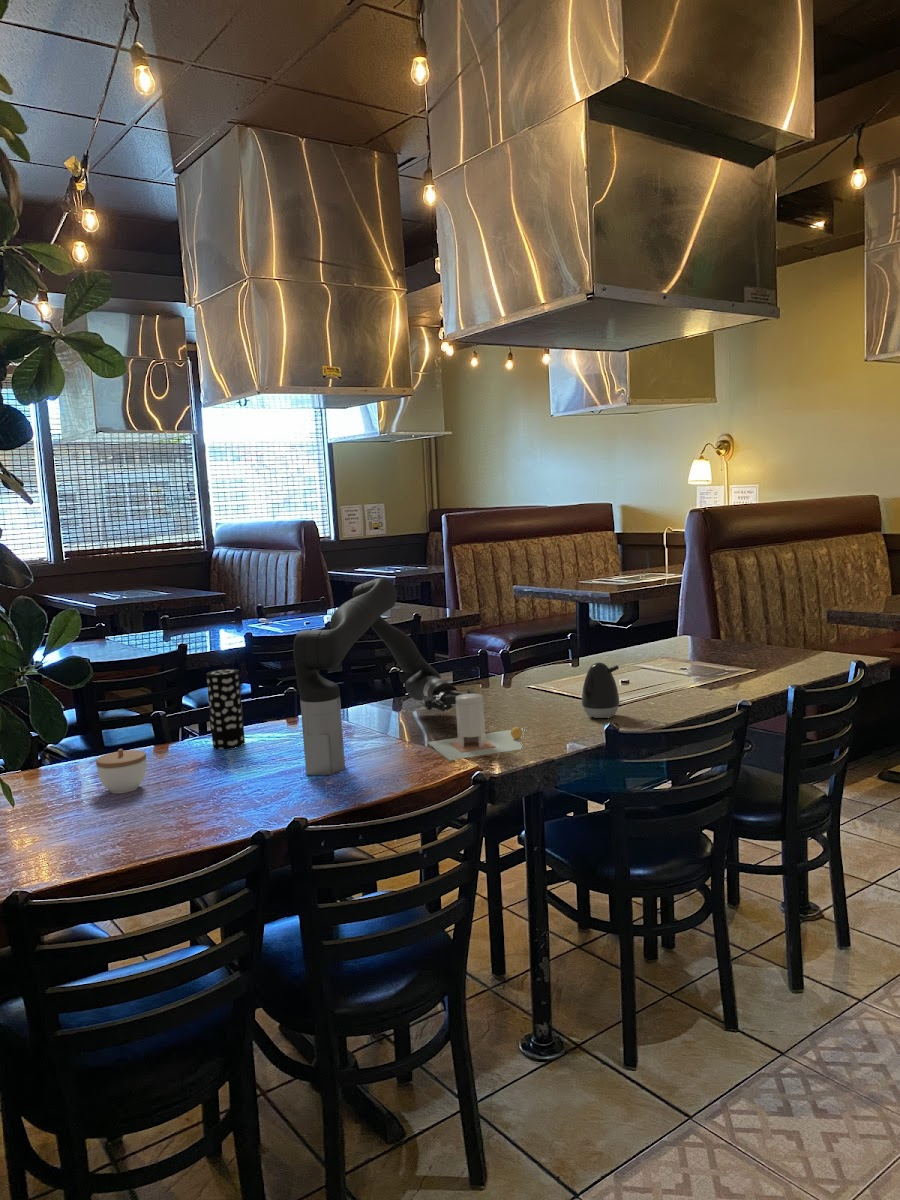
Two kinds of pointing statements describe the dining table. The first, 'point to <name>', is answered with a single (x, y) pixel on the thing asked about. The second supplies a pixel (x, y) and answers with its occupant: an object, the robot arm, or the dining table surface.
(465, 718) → the white cover with opening
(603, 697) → the pump dispenser
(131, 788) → the lidded jar
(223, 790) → the dining table surface
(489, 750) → the mat
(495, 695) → the dining table surface
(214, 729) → the white-spotted black cylinder
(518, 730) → the ball
